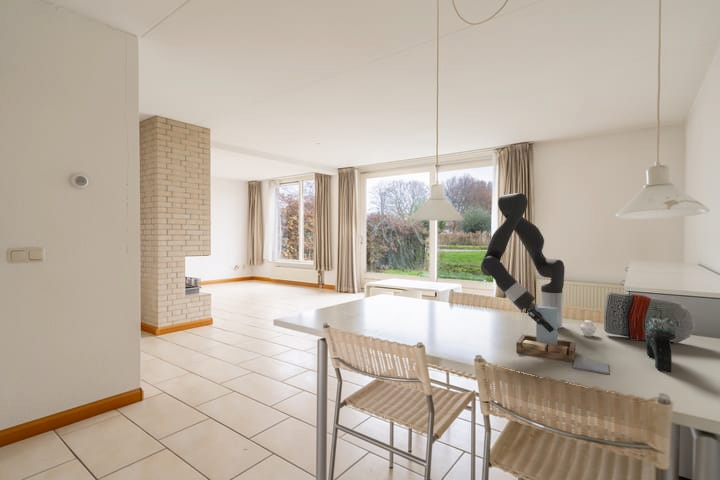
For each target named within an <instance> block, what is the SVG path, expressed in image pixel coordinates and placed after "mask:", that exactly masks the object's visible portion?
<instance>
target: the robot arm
mask: <svg viewBox="0 0 720 480" xmlns="http://www.w3.org/2000/svg"><path fill="white" fill-rule="evenodd" d="M528 203H529V201H528V197H527V196H526V195H525V194H524V193H521V192H516V193H508V194H504V195H501V196H500V197H499V198H498V201H497V206H498V209H499V211H500V213H501V214H502V215H503V217H504V218H505V219H506V220H505V221H504V222H503V223H502V224H501V225H500V226H498V228H497V229H496V230H495V232H493V234H492V236H491V239H490V241H489V243H488V246H487V251H486V253H485V255H484V257H483V260H482V261H481V264H480V271H481V273H482V274H483V275H484V276H488V277H490V276H491V278H492V279H494V281H495V285H496V286H497V287H498V288H499V289H500V291H502V292H503V293H504V294H505V295H506V297H507V298H508V299H509V300H510V301H511V302H512V303H513V304H514V305H515V306H516V308H517V309H519V310H520V311H522V310H524V309H525V310H526V311H527V316H528V317H530V318H531V319H532V320H533V321H534V322H535V323H536V322H537V323H538V324H539V325H543V326H544V327H545V328H546V330H547V331H548V332H552V331H553V330H554V328H553V327H552V326H551V325H550V324H549V323H548V322H547V321H546V320H545V319H544V318H543V315H542V314H541V313H540V312H539V311H538V309H537V308H536V307H537V306H539V305H538V304H535V303H533V301H535V299H536V298H535V297H534V296H533V295H532V293H531V292H530V291H528V290H527V288H526V287H524V286H523V284H521V283H519V282H518V280H517V279H515V277H513V276H512V275H511V274H510V273H509V271H508V270H507V268H506V267H505V265H504V264H503V263H502V262H501V259H502V258H503V256H504V254H505V252H506V250H507V247H508V244H509V242H510V239H511V236H512V234H513V233H514V232H515V234H517V236H518V238H519V240H520V241H521V243H522V245H523V246H524V248H525V250H526V251H527V253H528V255H529V257H530V258H531V260H532V262H533V264H534V266H535V269H536V271H537V273H538V275H540V276H541V277H543V278H549V279H550V282H549V283H546V284H542V285H541V286H540V287H541V288H540V306H546V307H556V308H558V320H557V330H558V329H563V290H564V285H565V283H564V282H565V268H566V267H565V264H564V261H563V260H561V259H554V258H553V259H552V258H546V257H545V255H544V253H543V249H544V246H545V238H544V236H543V234H542V233H541V231H540V229H539V227H537V226H536V225H535V224H534V223H532V222H531V221H529V220H528V219H526V218H525V217H523V216H524V214H525V212H526V210H527V209H528ZM539 314H540V315H539ZM539 319H541V320H540V321H539Z"/></svg>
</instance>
